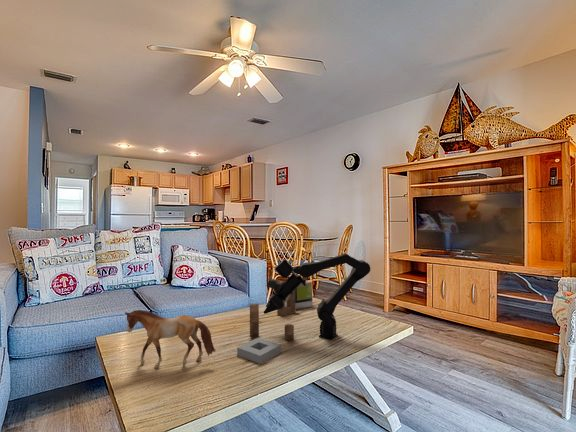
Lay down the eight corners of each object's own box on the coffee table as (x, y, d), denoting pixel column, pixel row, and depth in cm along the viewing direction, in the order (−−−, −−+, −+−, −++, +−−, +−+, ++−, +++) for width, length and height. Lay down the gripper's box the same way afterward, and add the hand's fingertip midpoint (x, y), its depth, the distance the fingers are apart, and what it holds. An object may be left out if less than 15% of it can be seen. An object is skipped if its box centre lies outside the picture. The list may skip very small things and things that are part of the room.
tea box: (304, 302, 189) (304, 279, 190) (312, 307, 180) (312, 282, 180) (282, 306, 183) (282, 281, 183) (289, 310, 174) (289, 284, 174)
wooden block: (295, 312, 170) (295, 280, 171) (281, 316, 163) (281, 283, 163) (290, 310, 173) (290, 279, 173) (276, 315, 165) (276, 282, 166)
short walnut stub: (295, 339, 132) (295, 325, 132) (290, 342, 129) (290, 328, 129) (288, 337, 134) (288, 323, 135) (282, 340, 131) (282, 326, 131)
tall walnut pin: (260, 335, 136) (260, 304, 136) (254, 338, 133) (254, 306, 133) (254, 333, 139) (254, 302, 139) (247, 336, 136) (247, 304, 136)
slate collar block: (281, 352, 119) (281, 344, 119) (260, 364, 110) (260, 355, 110) (258, 344, 126) (258, 337, 126) (237, 355, 117) (237, 347, 117)
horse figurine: (122, 372, 104) (122, 312, 104) (132, 362, 112) (132, 306, 112) (215, 367, 107) (215, 309, 107) (218, 357, 115) (218, 303, 115)
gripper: (278, 269, 145) (255, 292, 145) (275, 276, 126) (249, 302, 127) (295, 285, 145) (272, 308, 145) (294, 295, 126) (268, 321, 126)
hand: (265, 309), depth 136 cm, fingers open, 9 cm apart
